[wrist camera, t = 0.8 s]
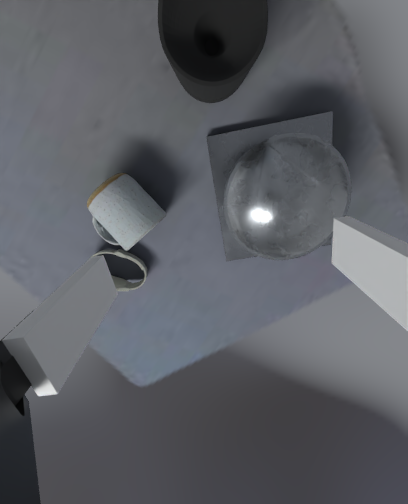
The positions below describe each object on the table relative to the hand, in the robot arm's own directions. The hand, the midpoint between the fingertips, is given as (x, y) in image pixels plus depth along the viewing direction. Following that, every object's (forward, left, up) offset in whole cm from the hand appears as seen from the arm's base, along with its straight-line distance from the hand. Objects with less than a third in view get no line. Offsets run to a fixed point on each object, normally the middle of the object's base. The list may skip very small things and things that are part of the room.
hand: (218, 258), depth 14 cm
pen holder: (-16, +3, -23) cm, 28 cm away
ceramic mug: (0, -13, -23) cm, 26 cm away
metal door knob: (+1, +9, -23) cm, 24 cm away
